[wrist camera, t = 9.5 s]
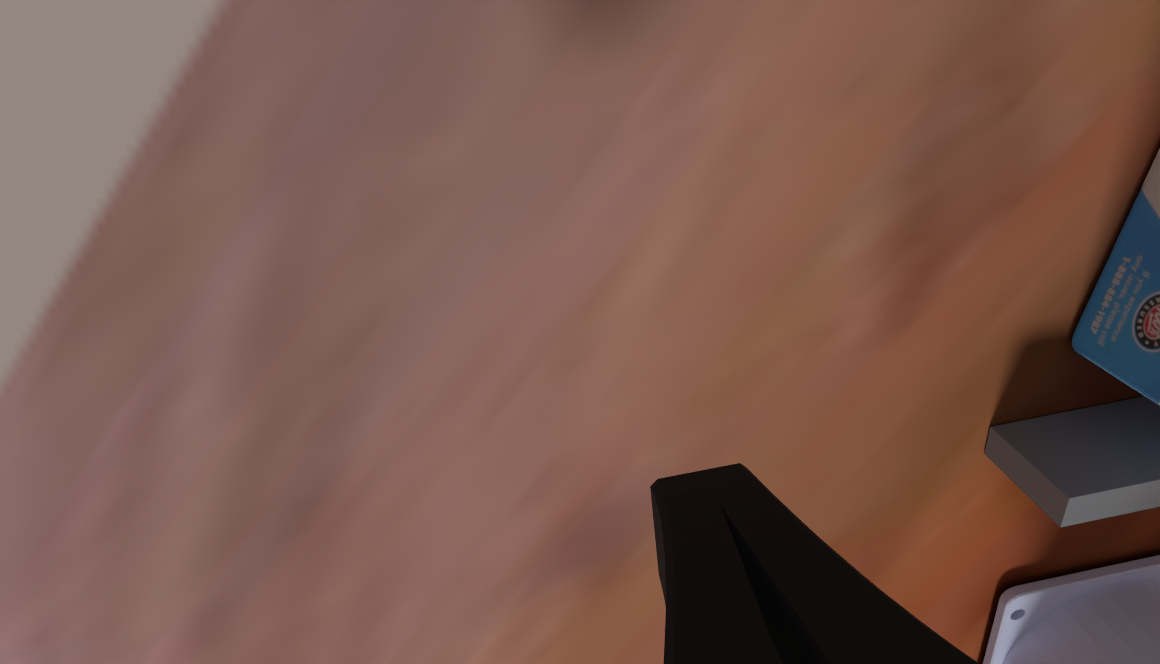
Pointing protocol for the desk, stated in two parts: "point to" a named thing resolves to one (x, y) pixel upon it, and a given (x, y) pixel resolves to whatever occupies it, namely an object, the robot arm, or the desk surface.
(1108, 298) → the ink box
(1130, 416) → the frame
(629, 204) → the desk surface
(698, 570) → the robot arm
